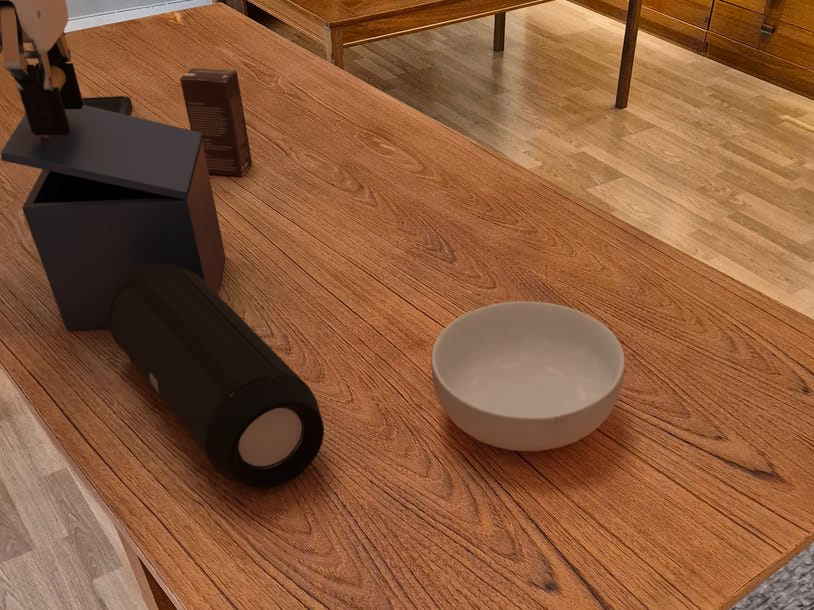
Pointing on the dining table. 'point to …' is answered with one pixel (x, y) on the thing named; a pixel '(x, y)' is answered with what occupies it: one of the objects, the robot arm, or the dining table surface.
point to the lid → (110, 149)
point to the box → (218, 119)
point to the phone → (111, 104)
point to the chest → (118, 237)
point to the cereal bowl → (527, 374)
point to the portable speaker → (216, 376)
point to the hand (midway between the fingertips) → (58, 118)
